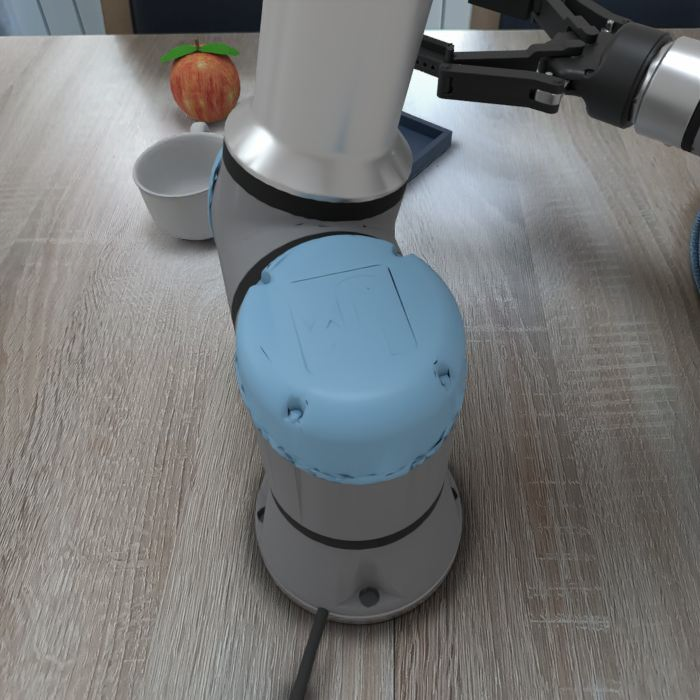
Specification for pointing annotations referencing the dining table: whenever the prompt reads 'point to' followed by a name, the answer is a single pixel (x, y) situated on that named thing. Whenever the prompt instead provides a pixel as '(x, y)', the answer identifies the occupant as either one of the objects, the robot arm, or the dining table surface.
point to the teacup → (179, 181)
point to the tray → (423, 140)
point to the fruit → (204, 80)
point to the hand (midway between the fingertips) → (431, 12)
